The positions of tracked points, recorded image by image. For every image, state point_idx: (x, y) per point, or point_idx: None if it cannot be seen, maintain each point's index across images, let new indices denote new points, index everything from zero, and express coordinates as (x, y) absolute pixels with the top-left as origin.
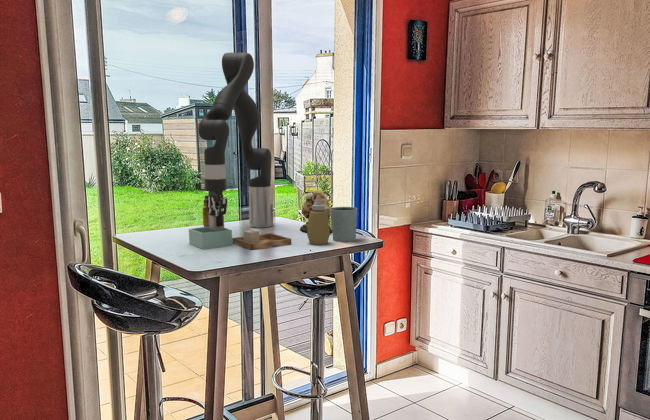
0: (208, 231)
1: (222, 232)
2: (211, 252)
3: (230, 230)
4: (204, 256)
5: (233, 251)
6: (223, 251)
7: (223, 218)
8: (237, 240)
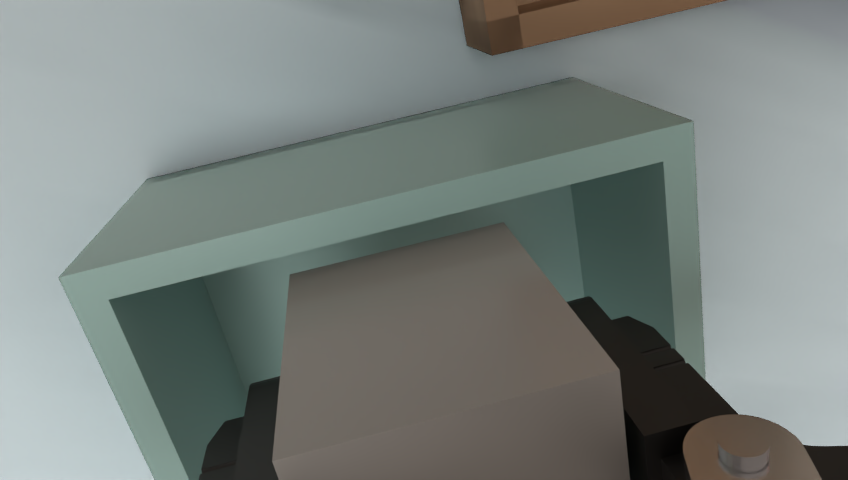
0: (193, 404)
1: (690, 286)
2: (725, 348)
3: (690, 146)
4: (840, 422)
5: (817, 127)
6: (752, 230)
7: (589, 343)
8: (662, 12)
